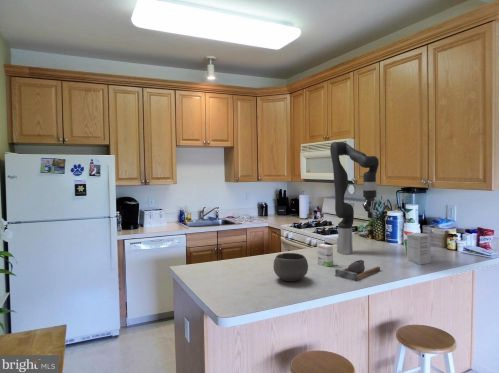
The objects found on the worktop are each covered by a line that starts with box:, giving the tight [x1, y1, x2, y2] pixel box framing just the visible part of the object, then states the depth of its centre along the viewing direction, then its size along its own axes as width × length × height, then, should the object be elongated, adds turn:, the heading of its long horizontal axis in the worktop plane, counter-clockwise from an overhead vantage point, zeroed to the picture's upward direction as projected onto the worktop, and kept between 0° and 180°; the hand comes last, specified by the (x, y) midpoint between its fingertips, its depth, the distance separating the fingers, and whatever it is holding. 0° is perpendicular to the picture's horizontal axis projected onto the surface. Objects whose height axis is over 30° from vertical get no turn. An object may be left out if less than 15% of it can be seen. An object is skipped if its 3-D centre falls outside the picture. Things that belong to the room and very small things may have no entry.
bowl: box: [273, 252, 309, 282], centre depth 178 cm, size 18×18×13 cm
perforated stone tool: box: [346, 259, 366, 275], centre depth 183 cm, size 15×5×7 cm, turn 129°
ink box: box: [316, 243, 334, 267], centre depth 203 cm, size 9×5×12 cm, turn 34°
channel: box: [334, 266, 381, 282], centre depth 185 cm, size 12×25×4 cm, turn 131°
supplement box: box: [406, 232, 432, 266], centre depth 203 cm, size 10×9×17 cm
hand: (370, 218), depth 204 cm, fingers closed
